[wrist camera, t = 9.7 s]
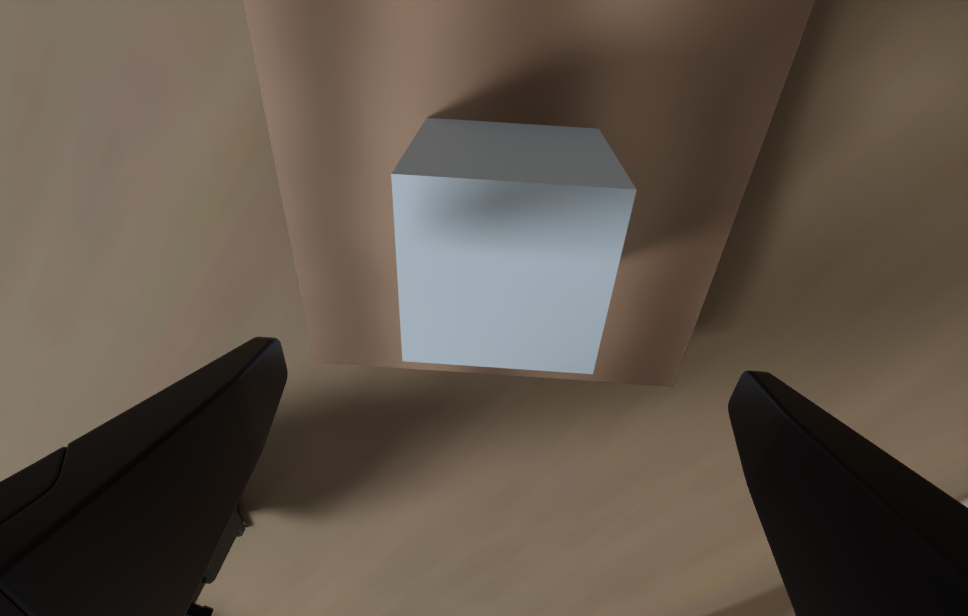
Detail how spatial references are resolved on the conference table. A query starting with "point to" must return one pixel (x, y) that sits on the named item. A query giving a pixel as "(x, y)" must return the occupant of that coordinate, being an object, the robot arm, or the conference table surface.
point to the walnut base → (524, 100)
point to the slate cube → (507, 243)
